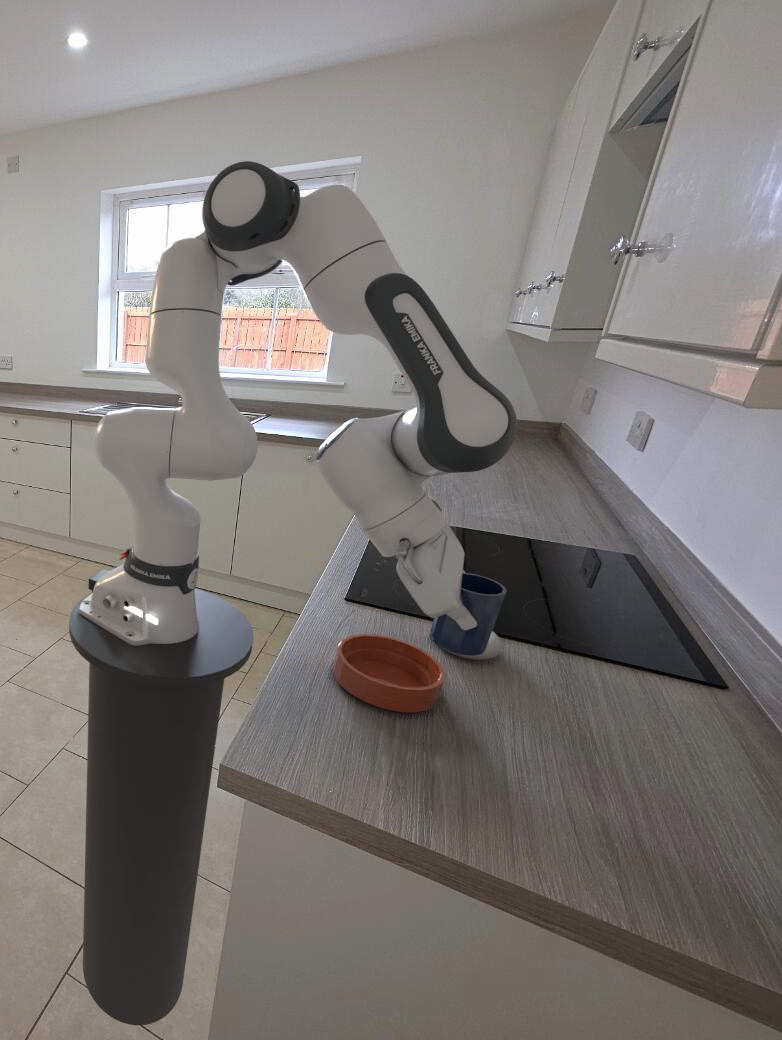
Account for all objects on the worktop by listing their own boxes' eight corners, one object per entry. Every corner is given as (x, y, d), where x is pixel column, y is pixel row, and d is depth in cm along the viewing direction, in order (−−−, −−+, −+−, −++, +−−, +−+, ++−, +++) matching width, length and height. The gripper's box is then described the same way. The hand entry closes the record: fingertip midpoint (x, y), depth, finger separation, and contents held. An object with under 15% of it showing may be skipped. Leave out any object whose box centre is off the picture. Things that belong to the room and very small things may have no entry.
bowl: (320, 688, 85) (325, 663, 84) (346, 647, 96) (352, 624, 94) (427, 730, 77) (436, 703, 75) (444, 680, 87) (452, 656, 85)
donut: (487, 637, 99) (422, 626, 102) (493, 620, 97) (428, 610, 100) (507, 670, 90) (436, 657, 93) (514, 652, 89) (442, 639, 92)
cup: (424, 643, 76) (442, 584, 73) (434, 624, 81) (452, 568, 77) (481, 661, 73) (502, 601, 69) (488, 641, 77) (509, 582, 73)
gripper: (422, 542, 66) (498, 640, 65) (435, 496, 81) (497, 574, 80) (371, 567, 70) (442, 659, 69) (393, 518, 85) (451, 592, 84)
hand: (472, 613), depth 75 cm, fingers closed on cup, 6 cm apart
